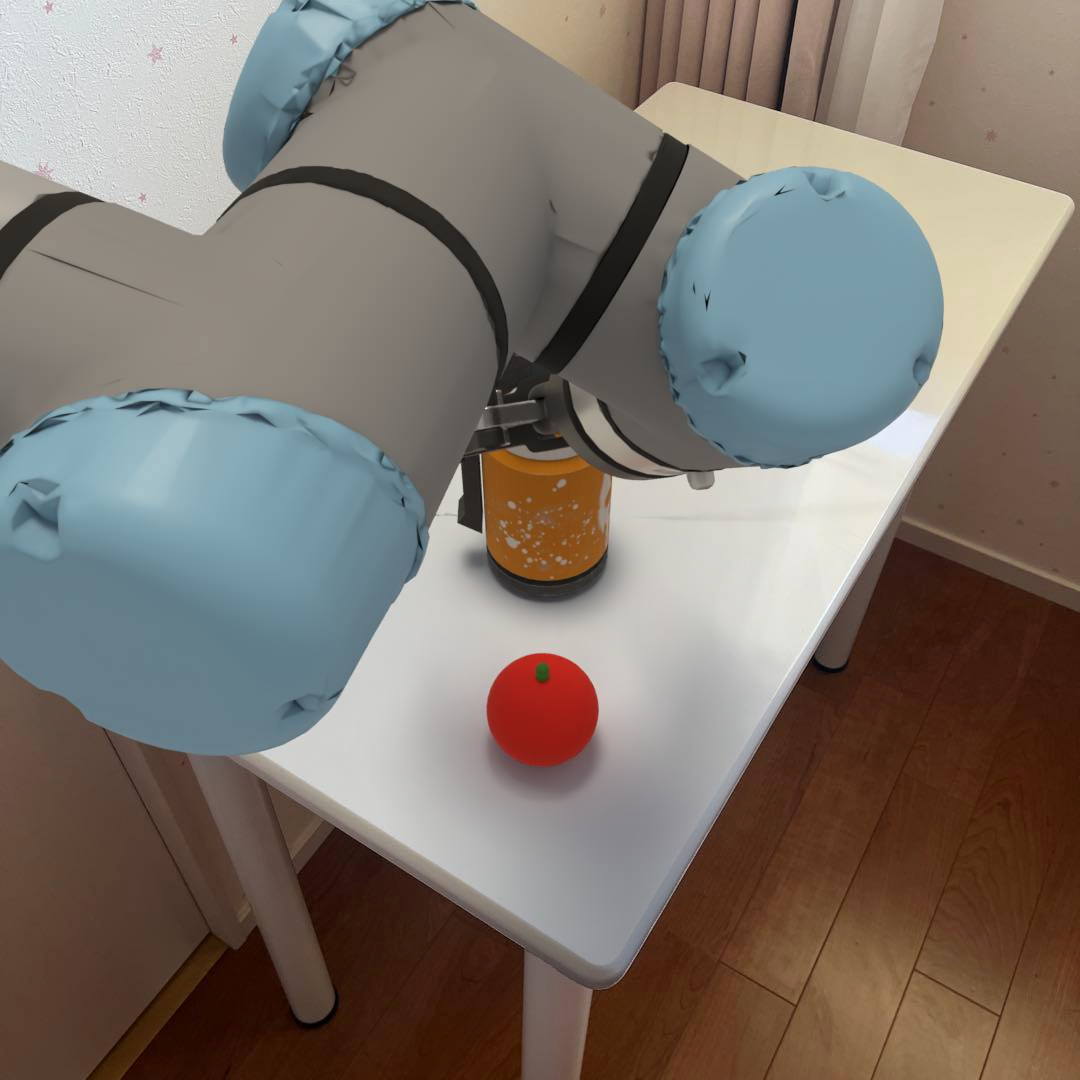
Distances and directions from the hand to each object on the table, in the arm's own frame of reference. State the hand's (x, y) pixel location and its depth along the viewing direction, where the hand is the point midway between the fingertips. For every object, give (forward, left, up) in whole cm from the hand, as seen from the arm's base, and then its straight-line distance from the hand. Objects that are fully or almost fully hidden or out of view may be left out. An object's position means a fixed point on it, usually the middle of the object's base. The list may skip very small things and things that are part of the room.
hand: (559, 425), depth 64 cm
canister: (-2, +7, -19) cm, 20 cm away
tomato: (-1, -9, -19) cm, 21 cm away
